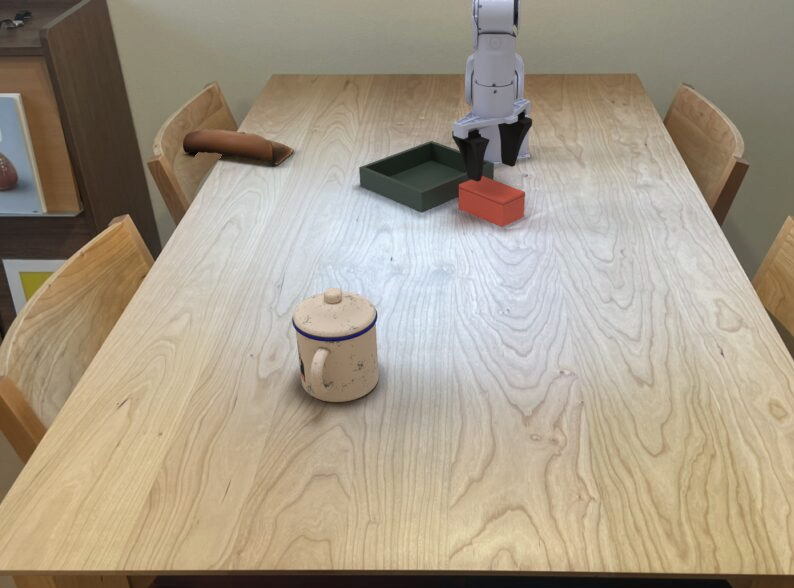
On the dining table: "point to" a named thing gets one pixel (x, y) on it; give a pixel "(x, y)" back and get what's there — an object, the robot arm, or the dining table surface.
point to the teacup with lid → (337, 345)
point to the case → (491, 201)
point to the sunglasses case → (236, 145)
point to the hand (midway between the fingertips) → (491, 171)
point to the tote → (420, 175)
